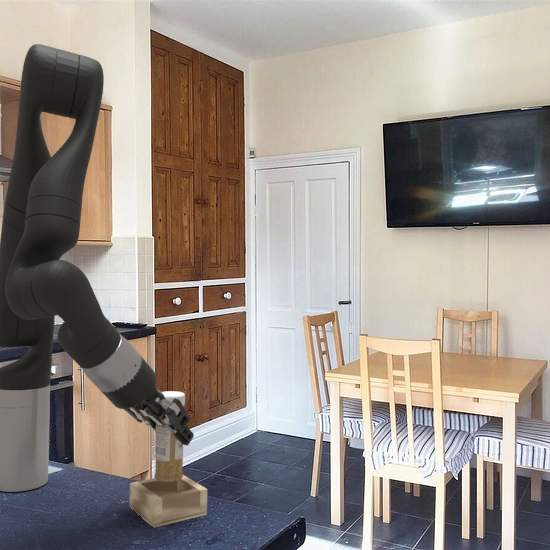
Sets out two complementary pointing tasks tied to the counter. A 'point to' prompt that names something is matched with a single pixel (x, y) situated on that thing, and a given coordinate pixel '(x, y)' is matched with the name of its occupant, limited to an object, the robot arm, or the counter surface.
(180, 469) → the sprinkles bottle
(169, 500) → the socket block
